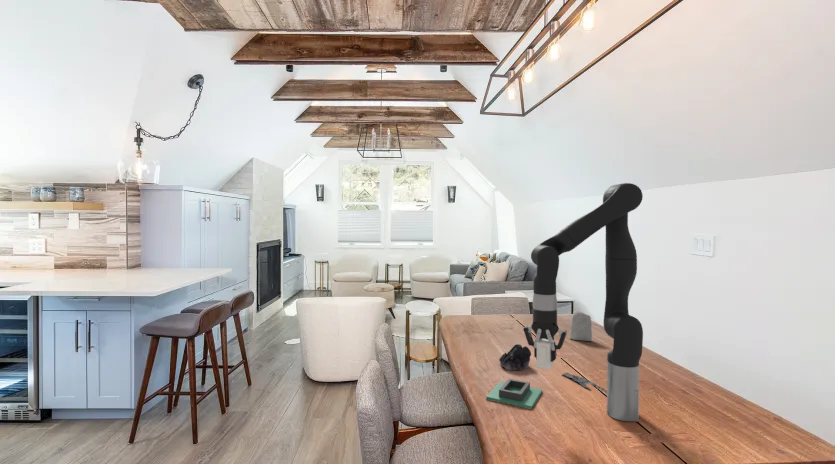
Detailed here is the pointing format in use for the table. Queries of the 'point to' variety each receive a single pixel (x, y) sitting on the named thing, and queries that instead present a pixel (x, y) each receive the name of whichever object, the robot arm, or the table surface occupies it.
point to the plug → (544, 354)
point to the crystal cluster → (516, 358)
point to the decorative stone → (581, 327)
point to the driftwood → (583, 381)
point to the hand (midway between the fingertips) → (545, 359)
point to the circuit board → (515, 393)
